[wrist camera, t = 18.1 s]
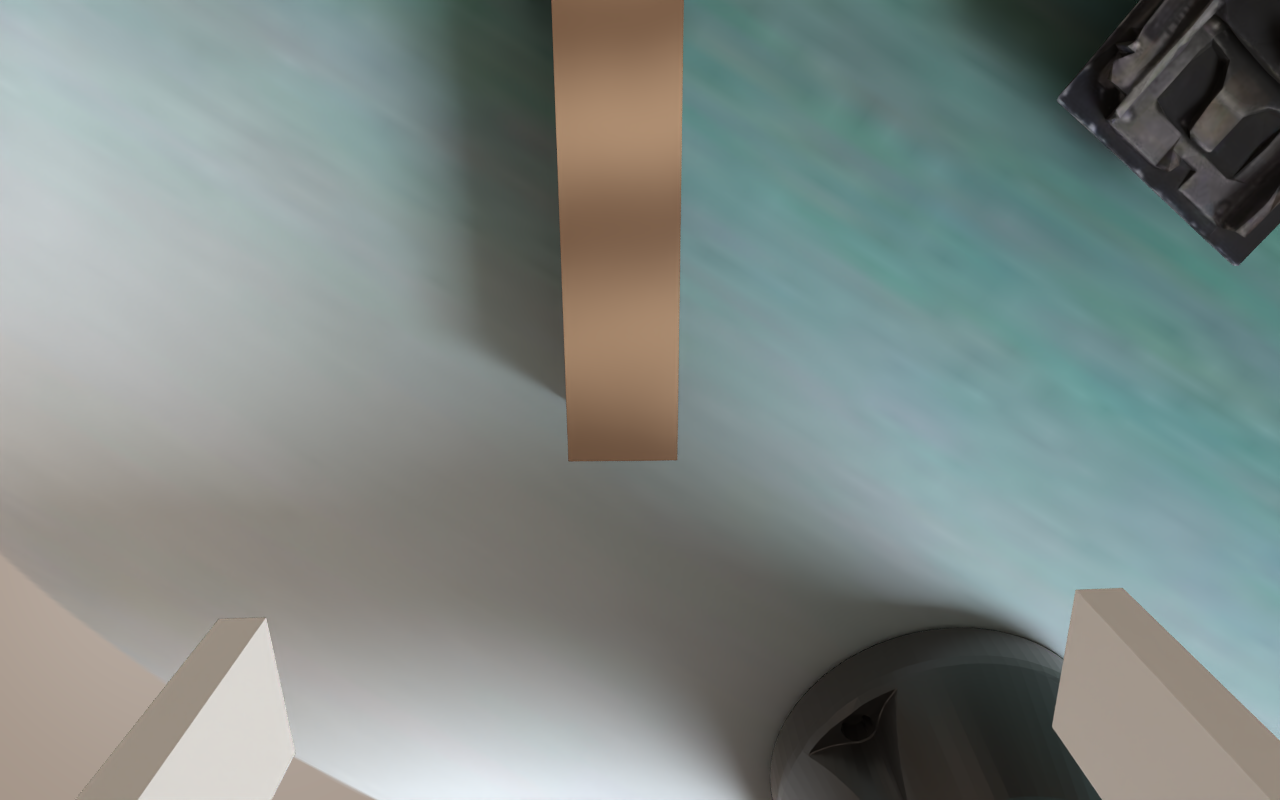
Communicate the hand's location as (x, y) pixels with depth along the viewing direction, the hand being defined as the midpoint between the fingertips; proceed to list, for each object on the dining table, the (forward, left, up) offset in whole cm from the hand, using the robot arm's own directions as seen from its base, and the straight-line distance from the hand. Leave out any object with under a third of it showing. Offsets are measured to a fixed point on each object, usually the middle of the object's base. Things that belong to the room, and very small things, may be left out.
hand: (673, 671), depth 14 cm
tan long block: (+5, +1, -18) cm, 19 cm away
